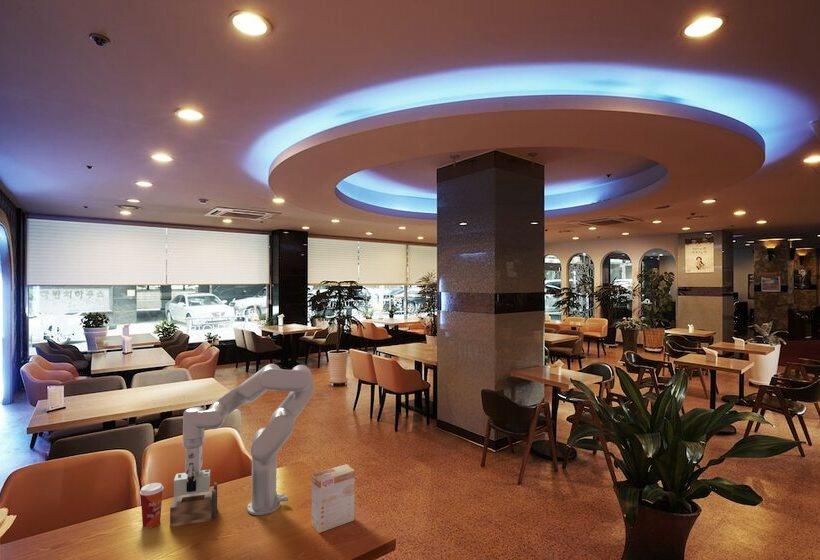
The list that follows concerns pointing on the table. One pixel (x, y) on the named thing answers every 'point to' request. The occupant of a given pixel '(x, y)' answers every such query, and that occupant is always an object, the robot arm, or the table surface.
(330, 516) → the coffeecake box
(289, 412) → the robot arm
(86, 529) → the table surface
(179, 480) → the white block with knobs
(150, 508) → the paper cup
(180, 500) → the brown boxy piece
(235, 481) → the table surface
